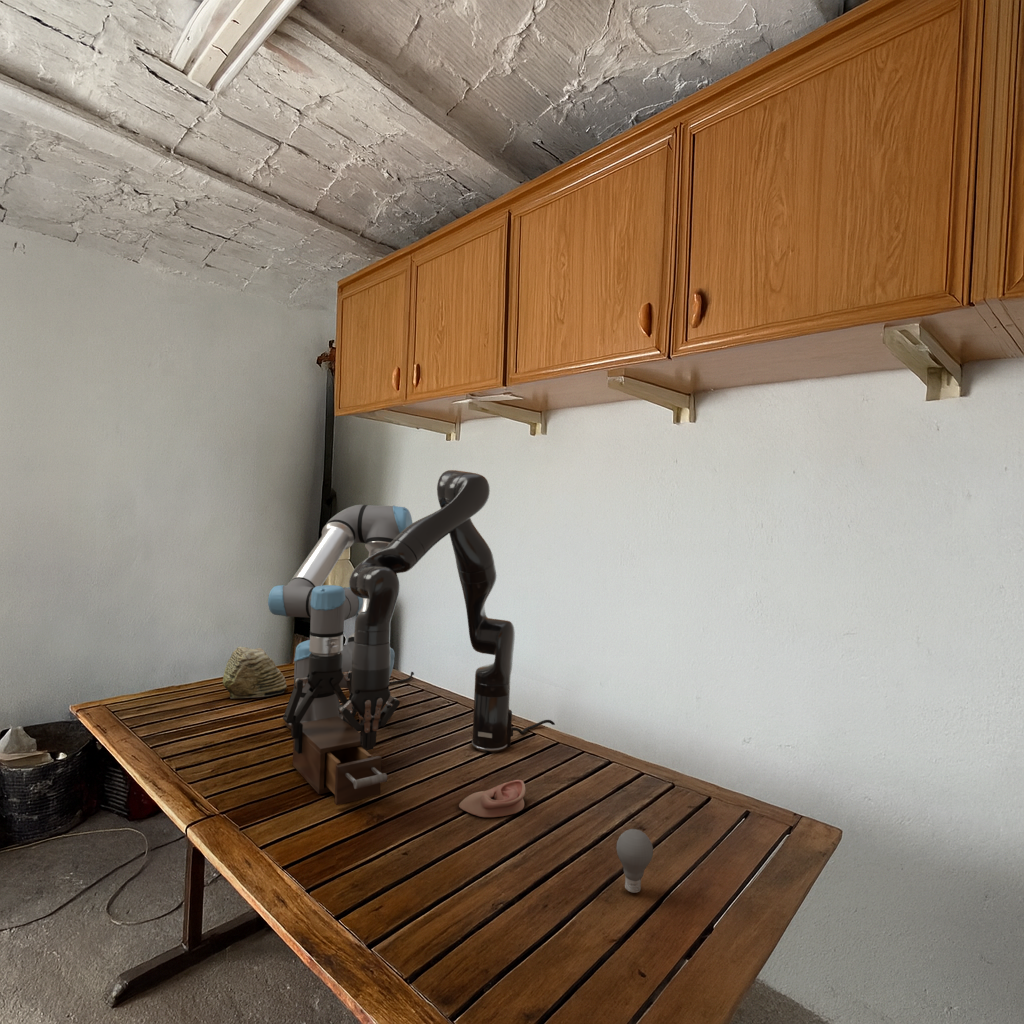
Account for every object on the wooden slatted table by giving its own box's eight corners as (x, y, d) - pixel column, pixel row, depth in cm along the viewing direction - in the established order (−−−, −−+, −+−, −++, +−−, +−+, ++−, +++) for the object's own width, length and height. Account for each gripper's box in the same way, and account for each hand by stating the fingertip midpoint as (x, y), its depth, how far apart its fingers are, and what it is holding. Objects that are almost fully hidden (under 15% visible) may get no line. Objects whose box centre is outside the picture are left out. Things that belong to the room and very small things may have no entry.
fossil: (218, 695, 195) (220, 647, 195) (278, 685, 208) (279, 640, 207) (228, 703, 189) (230, 653, 188) (289, 692, 201) (290, 645, 201)
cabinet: (366, 783, 141) (367, 739, 141) (319, 794, 134) (320, 748, 134) (336, 755, 155) (338, 716, 155) (292, 765, 148) (294, 723, 148)
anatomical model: (455, 794, 129) (470, 770, 140) (454, 813, 129) (469, 788, 140) (519, 803, 126) (529, 778, 137) (518, 822, 126) (528, 796, 137)
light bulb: (610, 879, 108) (613, 822, 108) (644, 879, 109) (647, 822, 109) (619, 902, 102) (622, 840, 102) (655, 901, 103) (658, 840, 103)
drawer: (393, 805, 129) (394, 767, 129) (348, 817, 123) (349, 778, 123) (350, 766, 147) (351, 733, 147) (309, 775, 141) (310, 741, 141)
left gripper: (280, 662, 138) (276, 762, 138) (379, 650, 152) (375, 742, 152) (270, 654, 144) (266, 750, 144) (366, 644, 158) (362, 732, 158)
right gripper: (347, 672, 121) (343, 762, 121) (409, 664, 129) (405, 748, 129) (332, 663, 127) (329, 749, 127) (392, 655, 135) (389, 736, 135)
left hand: (322, 746), depth 148 cm, fingers closed on cabinet, 11 cm apart
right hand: (367, 748), depth 128 cm, fingers closed
